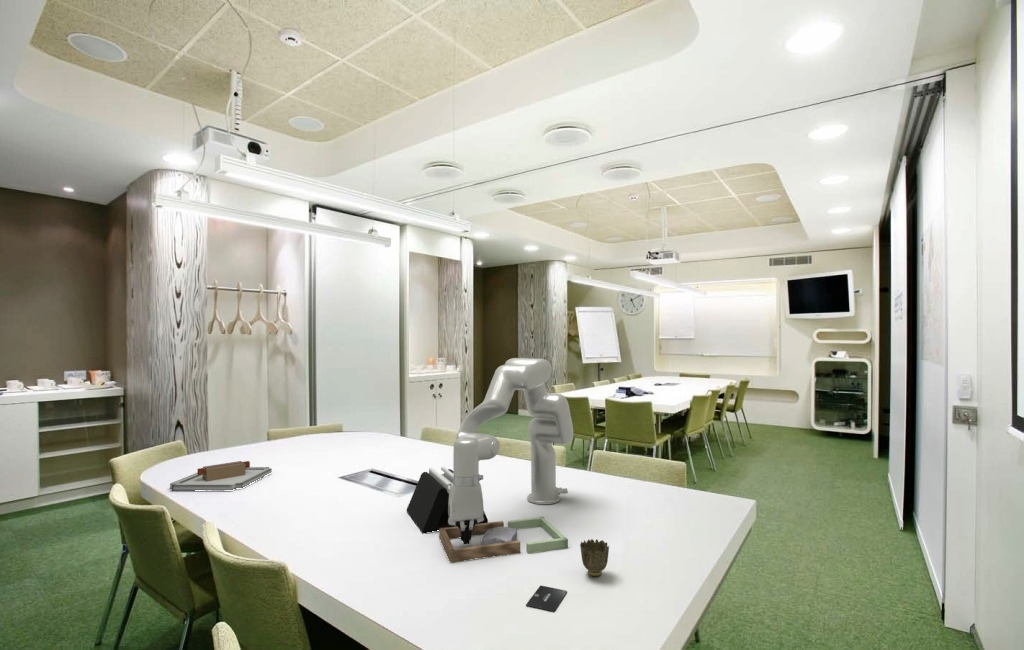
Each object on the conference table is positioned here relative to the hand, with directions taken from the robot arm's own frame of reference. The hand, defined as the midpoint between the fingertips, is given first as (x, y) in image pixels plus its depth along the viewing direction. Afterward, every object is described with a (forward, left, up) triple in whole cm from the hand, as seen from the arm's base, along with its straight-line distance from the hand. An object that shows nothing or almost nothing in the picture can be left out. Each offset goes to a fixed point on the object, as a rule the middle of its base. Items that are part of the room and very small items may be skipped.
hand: (466, 542), depth 145 cm
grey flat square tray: (+87, -102, -2) cm, 134 cm away
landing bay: (-22, 0, -1) cm, 22 cm away
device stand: (+1, -27, -2) cm, 27 cm away
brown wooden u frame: (-4, 0, -1) cm, 4 cm away
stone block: (-10, 0, -2) cm, 10 cm away
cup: (-28, +28, -2) cm, 40 cm away
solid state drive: (-12, +35, -2) cm, 37 cm away
